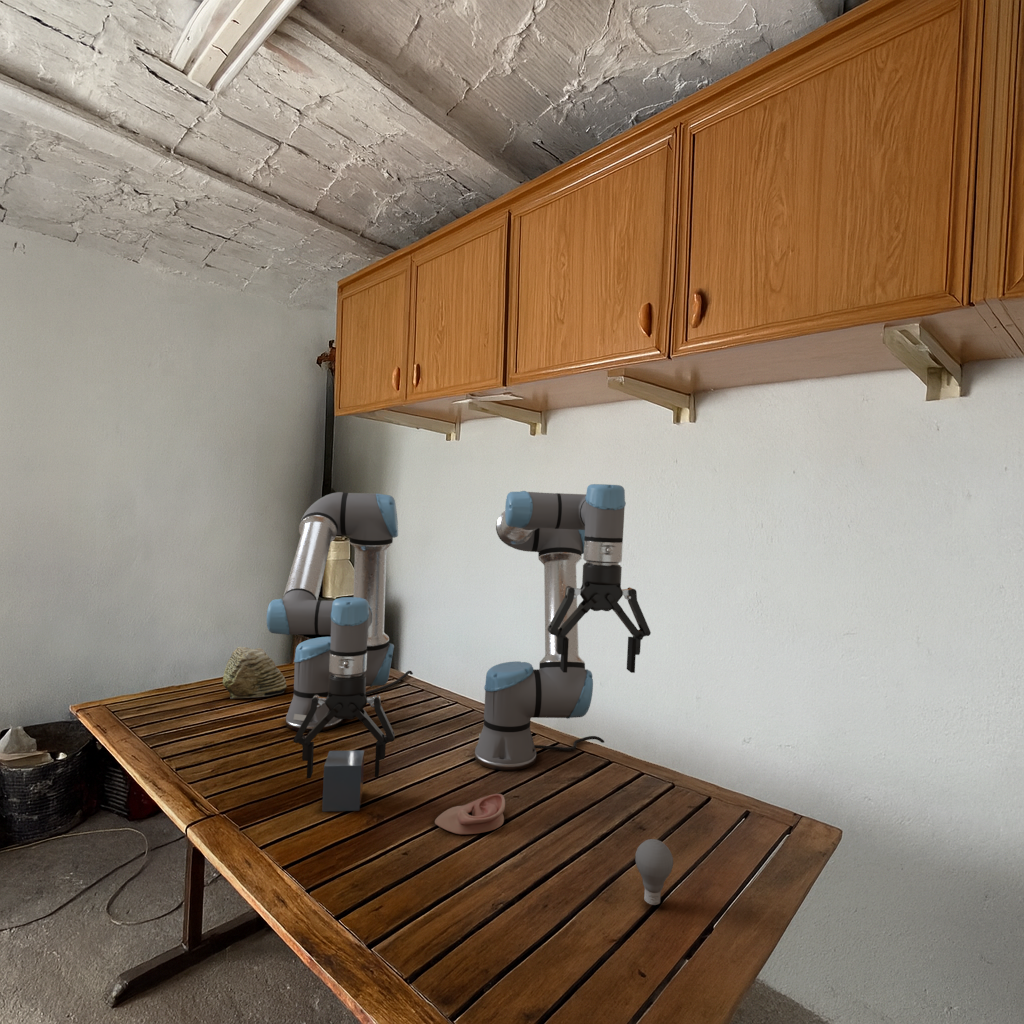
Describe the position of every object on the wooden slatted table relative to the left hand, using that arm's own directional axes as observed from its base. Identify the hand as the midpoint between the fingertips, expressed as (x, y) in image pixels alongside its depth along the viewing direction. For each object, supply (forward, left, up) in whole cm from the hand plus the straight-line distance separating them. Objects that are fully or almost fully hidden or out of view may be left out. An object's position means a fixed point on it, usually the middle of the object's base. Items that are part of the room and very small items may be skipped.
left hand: (343, 775), depth 132 cm
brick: (0, 0, -6) cm, 6 cm away
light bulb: (-14, +63, -6) cm, 65 cm away
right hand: (-27, +44, +26) cm, 57 cm away
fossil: (-23, -77, -6) cm, 81 cm away
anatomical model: (-13, +24, -6) cm, 28 cm away
